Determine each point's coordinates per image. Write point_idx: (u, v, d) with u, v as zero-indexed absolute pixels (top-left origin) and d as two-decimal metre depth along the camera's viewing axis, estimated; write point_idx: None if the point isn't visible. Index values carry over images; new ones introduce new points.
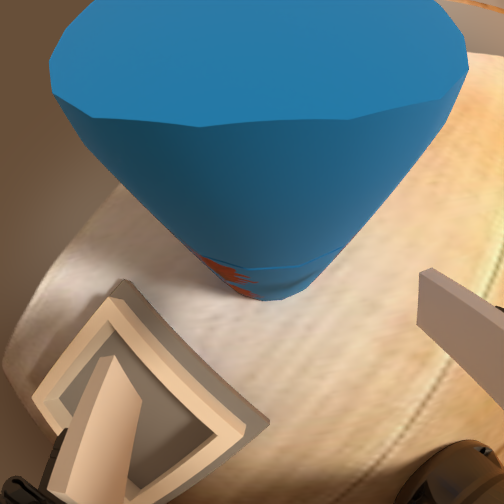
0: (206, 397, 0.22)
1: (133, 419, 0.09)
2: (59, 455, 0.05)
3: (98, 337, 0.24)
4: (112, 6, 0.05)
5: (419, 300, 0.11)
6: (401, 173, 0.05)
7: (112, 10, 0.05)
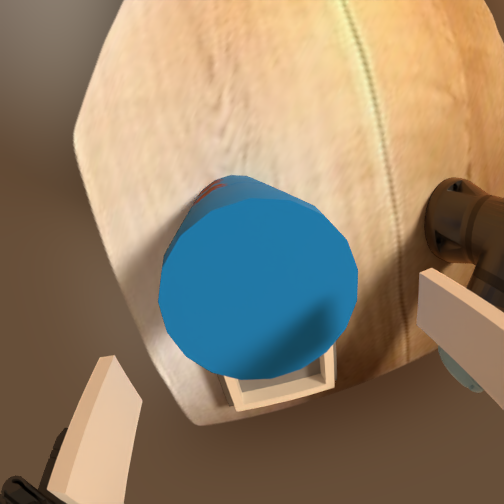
0: None
1: (132, 419, 0.09)
2: (59, 455, 0.05)
3: None
4: (222, 353, 0.15)
5: (419, 300, 0.11)
6: None
7: (228, 354, 0.15)
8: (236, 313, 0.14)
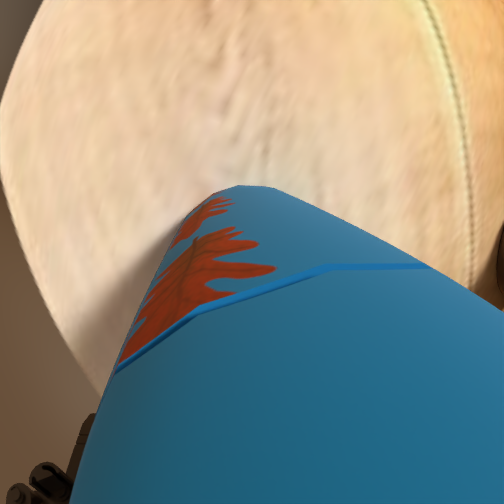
0: None
1: None
2: None
3: None
4: None
5: None
6: None
7: None
8: None
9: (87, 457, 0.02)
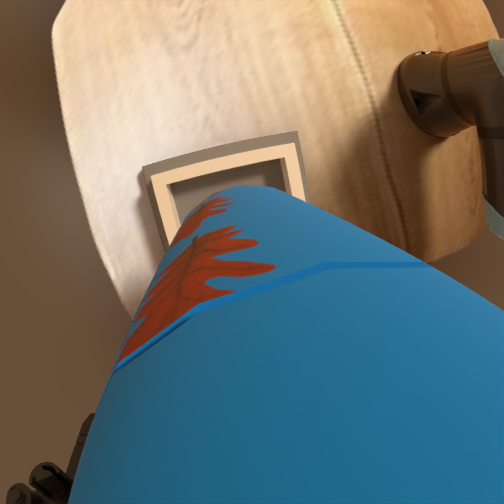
0: None
1: None
2: None
3: (172, 205, 0.33)
4: None
5: None
6: None
7: None
8: None
9: (86, 456, 0.02)
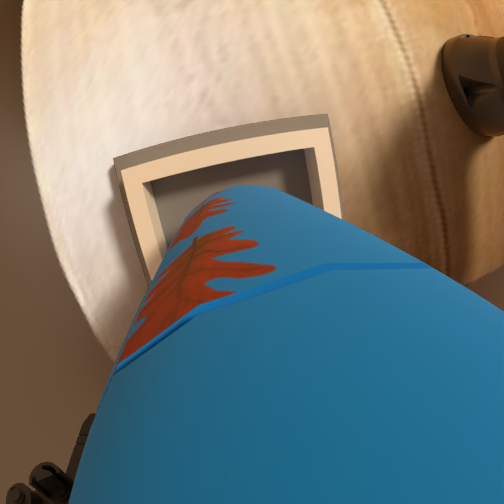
0: None
1: None
2: None
3: (152, 212, 0.23)
4: None
5: None
6: None
7: None
8: None
9: (86, 457, 0.02)
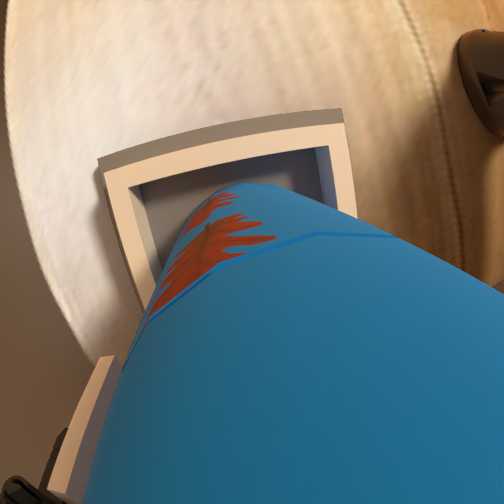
0: None
1: None
2: (59, 455, 0.05)
3: (141, 220, 0.20)
4: None
5: None
6: None
7: None
8: None
9: (129, 378, 0.04)
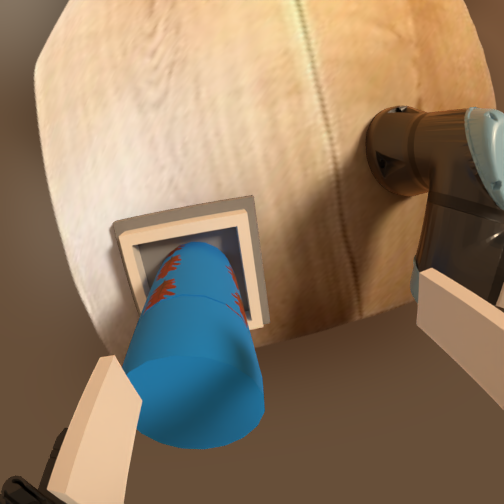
0: (211, 216, 0.37)
1: (133, 419, 0.09)
2: (59, 455, 0.05)
3: (138, 261, 0.37)
4: (166, 434, 0.18)
5: (419, 300, 0.11)
6: None
7: (170, 435, 0.18)
8: (172, 415, 0.17)
9: (141, 322, 0.21)
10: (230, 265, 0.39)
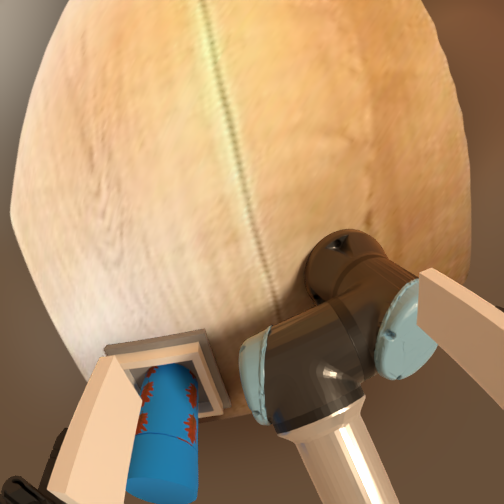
0: (173, 351, 0.46)
1: (132, 419, 0.09)
2: (59, 455, 0.05)
3: (127, 376, 0.47)
4: (150, 499, 0.28)
5: (419, 300, 0.11)
6: None
7: (152, 499, 0.28)
8: (150, 493, 0.27)
9: None
10: (192, 380, 0.48)
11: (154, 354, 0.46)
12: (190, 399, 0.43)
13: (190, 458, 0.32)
